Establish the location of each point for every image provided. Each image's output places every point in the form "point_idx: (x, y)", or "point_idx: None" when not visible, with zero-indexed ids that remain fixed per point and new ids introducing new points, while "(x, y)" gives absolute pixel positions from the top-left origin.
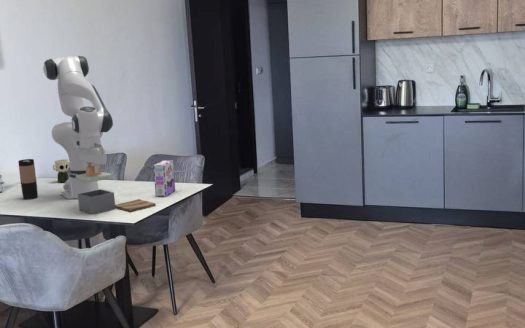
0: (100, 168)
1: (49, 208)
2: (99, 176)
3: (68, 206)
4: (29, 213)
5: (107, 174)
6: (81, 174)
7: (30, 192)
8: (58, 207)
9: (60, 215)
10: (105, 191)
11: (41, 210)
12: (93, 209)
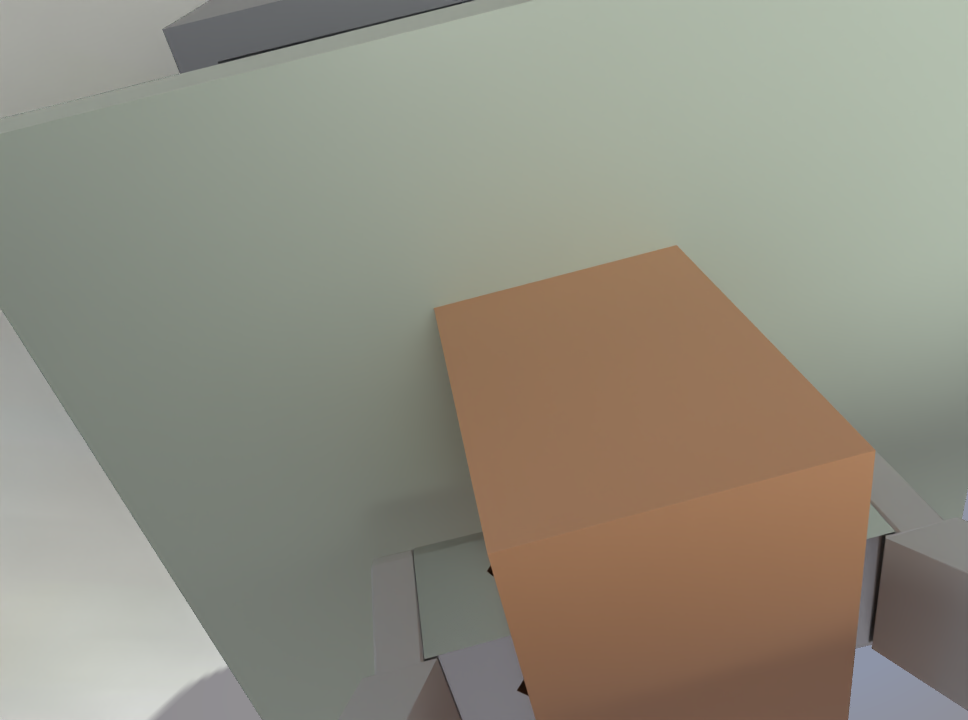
0: (788, 371)
1: (17, 571)
2: (962, 375)
3: (20, 403)
4: (148, 706)
5: (952, 61)
6: (290, 701)
7: None
8: (16, 498)
9: None
10: (451, 2)
11: (76, 631)
12: None
